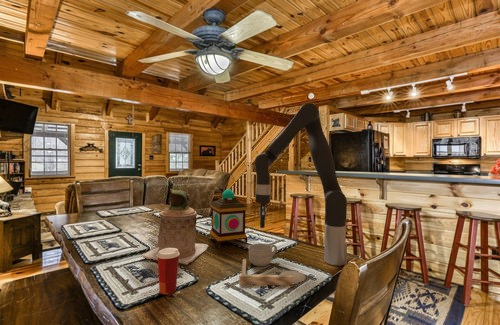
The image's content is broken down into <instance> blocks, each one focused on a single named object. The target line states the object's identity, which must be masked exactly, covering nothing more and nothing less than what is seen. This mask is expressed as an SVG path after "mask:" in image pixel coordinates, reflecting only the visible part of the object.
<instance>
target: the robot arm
mask: <svg viewBox="0 0 500 325" xmlns="http://www.w3.org/2000/svg"><path fill="white" fill-rule="evenodd" d="M295 113H296V114H295V115H294V117H293V118H292V119H291V120H290V122H289V123H288V124H287V125H286V127H284V129H283V130H282V131H281V132H280V133H279V134H278V135H276V137H275V138H274V139H273V140H272V141H271V142H270V143H269V145H268V148H267V149H266V150H265V151H264V152H263V153H258V154H257V155H256V156H255V159H254V168H255V173H256V178H255V179H256V180H255V181H256V182H255V196H254V197H255V200H254V201H255V203H257V204H260V205H258V216H259V227H260V229H265V228H266V226H265V222H266V216H267V210H268V207H267V205H266V204H270V203H271V193H272V192H271V190H272V189H271V174H270V172H269V167H270V166H271V165H272V164H273V163H274V162H275V160H277V158H278V157H279V155H280V154H282V153H283V152H284V150H286V149H287V147H289V145H290V144H291V142H292V141H293V140H294V139H295V137H296V136H297V135H298V134H299V132H300V131H301V130H302V129H303V128H304V129H305V131H306V134H307V137H308V146H309V152H310V156H311V160H312V162H313V165H314V166H313V167H314V168H315V171H316V173H317V175H318V176H319V179H320V181H321V185H322V189H323V195H324V204H325V205H324V235H323V236H324V237H323V238H324V239H323V240H324V242H323V243H324V245H323V247H324V248H323V250H324V251H323V252H324V253H323V261H324V263H326V264H329V265H331V266H343V265H347V264H346V263H348V243H347V242H346V233H347V231H346V229H347V228H346V225H347V214H348V212H347V209H348V208H347V207H348V202H347V201H348V199H347V197H346V195H345V194H344V192H343V191H342V188H341V186H340V183H339V181H338V178H337V172H336V166H335V160H334V156H333V153H332V149H331V147H330V144H329V141H328V140H327V137H326V135H325V134H324V130H323V128H322V126H323V125H322V123H321V122H322V121H321V115H320V110H319V108H318V106H317V105H316V104H315V103H312V102H307V103H303V104H302V105H301V106H300V108H299V109H298V111H297V112H295Z"/></svg>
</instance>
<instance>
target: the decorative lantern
mask: <svg viewBox="0 0 500 325" xmlns="http://www.w3.org/2000/svg"><path fill="white" fill-rule="evenodd" d="M209 205H210V208H211V220H210V223H211V229H210V231H209V234H208V237H209V239H210V240H211V239H214V240H215V241H216V244H217V247H218V248H220V247H221V243H226V242H231V241H232V242H233V241H241V240H244V241H243V242H244V244H245V243H246V244H247V243H248V235H247V234H246V211H247V209H248V206H247V205H246V204H245V203H244V202H241V201H240V200H239V199H237V197H235V192H234V191H233V190H232V189H231V188H227V189H225V190H224V191H223V192H222V196H220V198H218V199H217V200H214V201H212V202H211V203H210V204H209Z"/></svg>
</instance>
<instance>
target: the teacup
mask: <svg viewBox="0 0 500 325" xmlns="http://www.w3.org/2000/svg"><path fill="white" fill-rule="evenodd" d="M247 247H248V259H249V262H250V263H251V264H252V265H253V266H255V267H265V266H268V265H269V264H270V263H271V262H272V259H273V256H274V255H275V254H276V253H277V252H278V251H277V250H278V247H277V245H275V244H268V243H262V242H261V243H253V244H250V245H248V246H247ZM273 248H274V249H273Z"/></svg>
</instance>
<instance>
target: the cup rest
mask: <svg viewBox="0 0 500 325" xmlns="http://www.w3.org/2000/svg"><path fill="white" fill-rule="evenodd" d="M241 264H242V265H241V274H239V275H238V276H239V277H238V278H239V279H238V281H239V282H238V285H252V284H256V285H261V286H262V285H263V286H266V285H268V286H269V285H270V286H271V285H272V286H273V285H274V286H293V284H294V283H293V276H292V275H280V274H247V258H243V259H242V263H241Z"/></svg>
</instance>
